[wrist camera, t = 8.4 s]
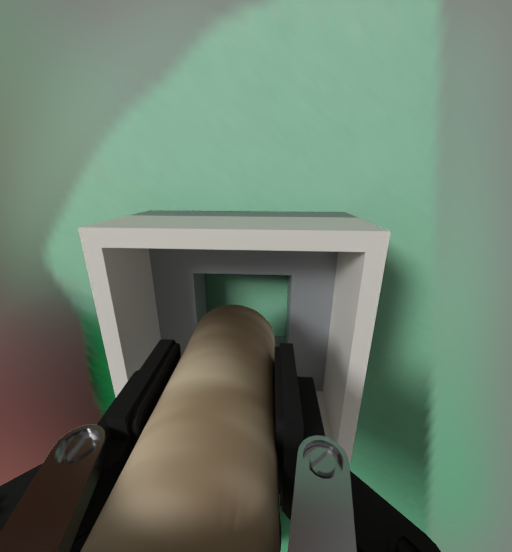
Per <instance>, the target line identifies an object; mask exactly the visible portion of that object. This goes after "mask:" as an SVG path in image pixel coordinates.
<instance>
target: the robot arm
mask: <svg viewBox="0 0 512 552" xmlns="http://www.w3.org/2000/svg"><path fill="white" fill-rule="evenodd" d="M180 358H181V351H180V344H179V343H176V341H175V340H171V339H161V340H160V341H159V342H158V343H157V345H156V346H155V348H154V349H153V351H152V352H151V354H150V355H149V356H148V358H147V359H146V361H145V362H144V364H143V365H142V367H141V368H140V369H139V370H137V371H135V372H134V373H133V375H132V376H131V377H130V379H129V380H128V382H127V383H126V384H125V386H124V387H123V389H122V390H121V391H120V393H119V394H118V396H117V397H116V398H115V400H114V401H113V403H112V404H111V405H110V407H109V408H108V410H107V411H106V413H105V414H104V415H103V417H102V418H101V420H100V421H99V422H98V424H97V425H95V424H89V425H84V426H80V427H78V428H76V429H73V430H72V431H70V432H68V433H67V434H65V435H64V436H63V437H62V438H61V439H59V440H58V441H57V443H56V444H55V445H54V446H53V448H52V449H51V451H50V453H49V454H48V456H47V457H46V459H45V461H44V462H43V463H42V464H41V465H39V466H37V467H35V468H33V469H31V470H29V471H28V472H26V473H24V474H22V475H20V476H18V477H16V478H14V479H13V480H11V481H9V482H7V483H5V484H3V485H1V486H0V552H80V551H81V549H82V548H83V546H84V544H85V542H86V540H87V538H88V536H89V534H90V532H91V530H92V528H93V526H94V524H95V522H96V520H97V519H98V517H99V515H100V513H101V511H102V509H103V507H104V505H105V503H106V501H107V499H108V497H109V495H110V493H111V491H112V489H113V488H114V486H115V484H116V482H117V480H118V478H119V476H120V474H121V472H122V470H123V468H124V466H125V464H126V462H127V460H128V458H129V457H130V455H131V453H132V451H133V449H134V447H135V445H136V443H137V441H138V439H139V437H140V435H141V433H142V431H143V429H144V428H145V426H146V424H147V422H148V420H149V418H150V416H151V414H152V412H153V410H154V408H155V406H156V404H157V402H158V400H159V398H160V397H161V395H162V393H163V391H164V389H165V387H166V385H167V383H168V381H169V379H170V377H171V375H172V373H173V371H174V369H175V367H176V366H177V364H178V362H179V360H180ZM274 382H275V441H276V452H277V458H278V494H280V506H282V511H283V512H284V513H285V515H286V516H287V517H288V518H289V519H290V520H291V524H290V533H289V543H288V552H441V551H440V550H439V548H438V547H437V546H436V544H435V543H434V542H433V541H432V540H431V539H430V538H429V537H428V536H427V535H426V534H425V533H424V532H422V531H421V530H420V529H419V528H418V527H416V526H415V525H414V524H413V523H412V522H411V521H409V520H408V519H407V518H406V517H405V516H403V515H402V514H401V513H400V512H399V511H397V510H396V509H395V508H394V507H393V506H392V505H390V504H389V503H388V502H387V501H386V500H384V499H383V498H382V497H381V496H380V495H378V494H377V493H376V492H375V491H374V490H372V489H371V488H370V487H369V486H368V485H367V484H365V483H364V482H363V481H362V480H361V479H359V478H358V477H357V476H356V475H355V474H353V473H352V472H351V471H350V466H349V461H348V457H347V455H346V453H345V451H344V449H343V448H342V447H341V446H340V445H339V444H338V443H337V442H335V441H334V440H332V439H330V438H328V437H325V432H324V427H323V423H322V418H321V413H320V408H319V404H318V399H317V394H316V389H315V385H314V380H313V378H312V377H299V376H297V371H296V363H295V356H294V348H293V343H280V347H277V346H275V352H274Z"/></svg>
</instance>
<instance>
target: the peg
mask: <svg viewBox="0 0 512 552" xmlns="http://www.w3.org/2000/svg"><path fill="white" fill-rule="evenodd" d="M274 352H275V338H274V333H273V330H272V328H271V326H270V324H269V323H268V321H267V320H266V319H265V318H264V317H263V316H262V315H261V314H259V313H258V312H256V311H255V310H253V309H251V308H248V307H245V306H241V305H224V306H220V307H217V308H215V309H213V310H211V311H209V312H208V313H206V314H205V315H204V316H203V317H202V319H201V320H200V321H199V323H198V325H197V327H196V329H195V331H194V333H193V335H192V337H191V338H190V340H189V342H188V344H187V346H186V348H185V350H184V352H183V354H182V356H181V358H180V360H179V362H178V364H177V366H176V367H175V369H174V371H173V373H172V375H171V377H170V379H169V381H168V383H167V385H166V387H165V389H164V391H163V393H162V395H161V397H160V398H159V400H158V402H157V404H156V406H155V408H154V410H153V412H152V414H151V416H150V418H149V420H148V422H147V424H146V426H145V428H144V429H143V431H142V433H141V435H140V437H139V439H138V441H137V443H136V445H135V447H134V449H133V451H132V453H131V455H130V457H129V458H128V460H127V462H126V464H125V466H124V468H123V470H122V472H121V474H120V476H119V478H118V480H117V482H116V484H115V486H114V488H113V489H112V491H111V493H110V495H109V497H108V499H107V501H106V503H105V505H104V507H103V509H102V511H101V513H100V515H99V517H98V519H97V520H96V522H95V524H94V526H93V528H92V530H91V532H90V534H89V536H88V538H87V540H86V542H85V544H84V546H83V548H82V549H81V551H80V552H280V536H279V494H278V458H277V452H276V441H275V382H274Z"/></svg>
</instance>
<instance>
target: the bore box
mask: <svg viewBox="0 0 512 552" xmlns="http://www.w3.org/2000/svg"><path fill="white" fill-rule="evenodd" d="M78 230H79V234H80V239H81V243H82V248H83V252H84V257H85V261H86V266H87V270H88V275H89V279H90V284H91V289H92V293H93V298H94V302H95V307H96V311H97V316H98V320H99V325H100V329H101V334H102V338H103V343H104V347H105V352H106V356H107V361H108V365H109V370H110V374H111V379H112V383H113V388H114V392H115V397H117V396H118V394H119V393H120V391H121V390H122V389H123V387H124V386H125V384H126V383H127V382H128V380H129V379H130V377H131V376H132V375H133V373H134V372H135V371H137V370H139V369H140V368H141V367H142V365H143V364H144V362H145V361H146V359H147V358H148V356H149V355H150V354H151V352H152V351H153V349H154V348H155V346H156V345H157V343H158V342H159V341H160V340H161V339H171V340H175V341H176V343H179V344H180V351H181V356H182V354H183V352H184V350H185V348H186V346H187V344H188V342H189V340H190V338H191V337H192V335H193V333H194V331H195V329H196V327H197V325H198V323H199V321H200V320H201V319H202V317H203V316H204V315H205V314H206V313H207V304H206V289H205V273H211V274H257V275H289V276H288V298H287V319H286V337H274V338H275V346H277V347H280V343H293V348H294V356H295V363H296V371H297V376H299V377H312V378H313V380H314V385H315V389H316V394H317V399H318V404H319V408H320V413H321V418H322V423H323V427H324V432H325V437H328V438H330V439H332V440H334V441H335V442H337V443H338V444H339V445H340V446H341V447H342V448H343V449H344V451H345V453H346V455H347V457H348V461H351V457H352V452H353V446H354V440H355V434H356V428H357V423H358V417H359V411H360V405H361V400H362V394H363V388H364V382H365V377H366V371H367V365H368V359H369V354H370V348H371V342H372V336H373V331H374V325H375V319H376V313H377V307H378V302H379V296H380V290H381V284H382V279H383V273H384V267H385V261H386V256H387V250H388V244H389V238H390V233H391V231H389V230H386V229H384V228H381V227H379V226H377V225H374V224H372V223H369V222H367V221H365V220H362V219H360V218H357V217H355V216H353V215H350V214H348V213H345V212H252V211H146V212H142V213H137V214H133V215H129V216H124V217H120V218H116V219H112V220H107V221H103V222H99V223H95V224H90V225H86V226H82V227H78Z"/></svg>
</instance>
